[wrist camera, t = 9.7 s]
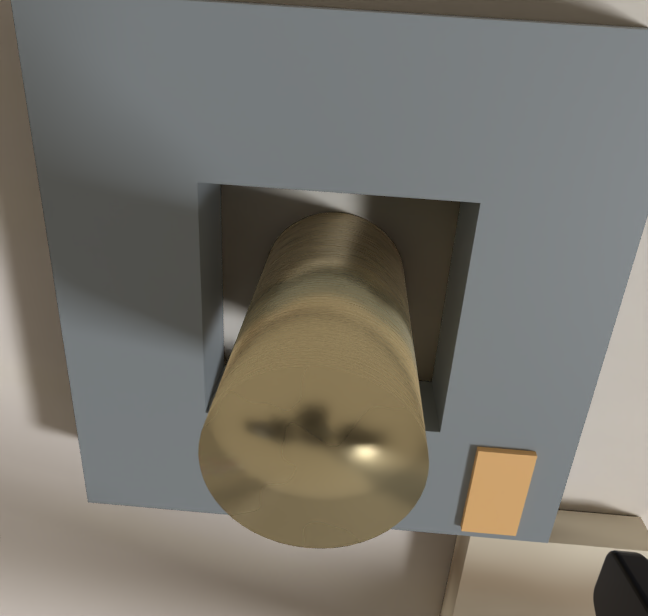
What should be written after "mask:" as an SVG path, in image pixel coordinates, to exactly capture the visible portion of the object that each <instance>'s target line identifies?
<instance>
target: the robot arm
mask: <svg viewBox="0 0 648 616" xmlns="http://www.w3.org/2000/svg"><path fill="white" fill-rule="evenodd" d="M593 603H594V609H595V614H596V616H648V559H647V558H646V557H644V556H643V555H642V554H640V553H637V552H630V551H618V550H613V551H610V552H609V553H608V554H607V555H606V557H605V560H604V563H603V565H602V568H601V571H600V574H599V576H598V579H597V582H596V584H595V587H594V592H593Z"/></svg>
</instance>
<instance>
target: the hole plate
mask: <svg viewBox="0 0 648 616" xmlns="http://www.w3.org/2000/svg"><path fill="white" fill-rule="evenodd" d="M11 5H12V12H13V18H14V25H15V31H16V38H17V44H18V50H19V57H20V63H21V70H22V76H23V83H24V89H25V96H26V102H27V109H28V115H29V122H30V128H31V135H32V141H33V148H34V154H35V161H36V167H37V174H38V180H39V187H40V193H41V200H42V206H43V213H44V219H45V226H46V232H47V239H48V245H49V252H50V258H51V265H52V271H53V278H54V284H55V291H56V297H57V304H58V310H59V317H60V323H61V330H62V336H63V343H64V349H65V356H66V362H67V369H68V375H69V382H70V388H71V395H72V401H73V408H74V414H75V421H76V427H77V434H78V440H79V447H80V453H81V460H82V466H83V472H84V479H85V485H86V492H87V498H88V502H91V503H102V504H114V505H125V506H136V507H147V508H159V509H170V510H181V511H192V512H204V513H215V514H226V515H229V514H227V513H226V512H225V511H224V510H223V509H222V508H221V506H220V505H219V504H218V503H217V502H216V501H215V499H214V498H213V496H212V495H211V493H210V491H209V490H208V488H207V486H206V484H205V481H204V479H203V476H202V473H201V470H200V465H199V457H198V448H199V439H200V435H201V431H202V428H203V425H204V423H205V420H206V418H207V415H208V412H209V410H210V407H211V405H212V402H213V399H214V397H215V394H216V392H217V389H218V386H219V384H220V381H221V379H222V376H223V373H224V371H225V368H226V366H227V365H224V331H223V280H222V229H221V184H226V185H240V186H253V187H267V188H281V189H295V190H309V191H322V192H336V193H350V194H364V195H378V196H391V197H405V198H419V199H433V200H446V201H460V202H461V203H460V209H459V215H458V222H457V228H456V234H455V240H454V246H453V253H452V259H451V265H450V271H449V278H448V284H447V290H446V296H445V303H444V309H443V315H442V321H441V327H440V334H439V340H438V346H437V352H436V359H435V365H434V371H433V377H432V382H426V381H419V387H420V395H421V402H422V409H423V417H424V424H425V431H426V439H427V446H428V455H429V471H428V477H427V481H426V485H425V488H424V490H423V492H422V495H421V497H420V499H419V500H418V502H417V503H416V505H415V506H414V508H413V509H412V510H411V511H410V512H409V514H408V515H407V516H406V517H405V518H404V519H402V520H401V521H400V522H399V523H398V524H397V525H395V526H394V527H392V528H391V529H395V530H406V531H417V532H428V533H440V534H451V535H462V536H473V537H485V538H496V539H507V540H518V541H530V542H541V543H548V542H549V538H550V535H551V532H552V529H553V525H554V522H555V519H556V515H557V512H558V509H559V506H560V502H561V499H562V496H563V492H564V489H565V486H566V483H567V479H568V476H569V473H570V469H571V466H572V463H573V460H574V456H575V453H576V450H577V446H578V443H579V440H580V436H581V433H582V430H583V427H584V423H585V420H586V417H587V413H588V410H589V407H590V404H591V400H592V397H593V394H594V390H595V387H596V384H597V381H598V377H599V374H600V371H601V367H602V364H603V361H604V358H605V354H606V351H607V348H608V344H609V341H610V338H611V335H612V331H613V328H614V325H615V321H616V318H617V315H618V311H619V308H620V305H621V302H622V298H623V295H624V292H625V288H626V285H627V282H628V279H629V275H630V272H631V269H632V265H633V262H634V259H635V256H636V252H637V249H638V246H639V242H640V239H641V236H642V233H643V229H644V226H645V223H646V219H647V216H648V28H641V27H626V26H610V25H594V24H578V23H563V22H547V21H531V20H515V19H499V18H484V17H468V16H452V15H436V14H421V13H405V12H389V11H373V10H357V9H342V8H326V7H310V6H294V5H279V4H263V3H247V2H231V1H215V0H11Z"/></svg>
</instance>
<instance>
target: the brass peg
mask: <svg viewBox="0 0 648 616" xmlns="http://www.w3.org/2000/svg"><path fill="white" fill-rule="evenodd" d="M198 457H199V465H200V470H201V473H202V476H203V479H204V481H205V484H206V486H207V488H208V490H209V491H210V493H211V495H212V496H213V498H214V499H215V501H216V502H217V503H218V504H219V505H220V506H221V508H222V509H223V510H224V511H225V512H226V513H227V514H229V515H230V516H231V517H232V518H233V519H234V520H236V521H237V522H238V523H240V524H241V525H242V526H244V527H246V528H247V529H249V530H251V531H253V532H254V533H256V534H259V535H261V536H263V537H265V538H268V539H271V540H273V541H276V542H279V543H283V544H288V545H292V546H298V547H305V548H336V547H343V546H349V545H353V544H357V543H361V542H364V541H367V540H369V539H372V538H375V537H377V536H379V535H380V534H382V533H384V532H386V531H388V530H389V529H391V528H392V527H394V526H395V525H397V524H398V523H399V522H400V521H401V520H402V519H404V518H405V517H406V516H407V515H408V514H409V512H410V511H411V510H412V509H413V508H414V506H415V505H416V503H417V502H418V500H419V499H420V497H421V495H422V492H423V490H424V488H425V485H426V481H427V477H428V471H429V455H428V446H427V439H426V431H425V424H424V417H423V409H422V402H421V395H420V387H419V380H418V373H417V365H416V358H415V351H414V343H413V336H412V329H411V321H410V314H409V307H408V299H407V292H406V285H405V277H404V270H403V265H402V261H401V257H400V255H399V252H398V250H397V248H396V247H395V245H394V243H393V242H392V241H391V239H390V238H389V237H388V236H387V235H386V234H385V233H384V232H383V231H382V230H381V229H380V228H379V227H377V226H376V225H375V224H373V223H371V222H369V221H368V220H366V219H363V218H361V217H358V216H355V215H351V214H347V213H340V212H327V213H319V214H315V215H311V216H309V217H306V218H304V219H301V220H300V221H298V222H296V223H294V224H293V225H291V226H290V227H289V228H287V229H286V230H285V231H284V232H283V233H282V234H281V235H280V237H279V238H278V239H277V240H276V242H275V244H274V245H273V247H272V249H271V251H270V254H269V256H268V259H267V261H266V264H265V267H264V269H263V272H262V274H261V277H260V280H259V282H258V285H257V287H256V290H255V293H254V295H253V298H252V300H251V303H250V306H249V308H248V311H247V313H246V316H245V319H244V321H243V324H242V327H241V329H240V332H239V334H238V337H237V340H236V342H235V345H234V347H233V350H232V353H231V355H230V358H229V360H228V363H227V366H226V368H225V371H224V373H223V376H222V379H221V381H220V384H219V386H218V389H217V392H216V394H215V397H214V399H213V402H212V405H211V407H210V410H209V412H208V415H207V418H206V420H205V423H204V425H203V428H202V431H201V435H200V439H199V448H198Z"/></svg>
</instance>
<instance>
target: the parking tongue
mask: <svg viewBox="0 0 648 616" xmlns="http://www.w3.org/2000/svg"><path fill="white" fill-rule="evenodd" d="M613 550H618V551H630V552H637V553H640V554H642V555H643V556H644V557H646V558H647V559H648V530H647V528H646V526H645V525H644V523H643V521H642V519H641V517H633V516H621V515H610V514H599V513H587V512H576V511H564V510H558V512H557V515H556V519H555V522H554V525H553V529H552V532H551V535H550V538H549V542H548V543H541V542H530V541H518V540H507V539H496V538H485V537H473V536H462V535H457V538H456V543H455V548H454V552H453V557H452V562H451V567H450V571H449V576H448V581H447V586H446V590H445V595H444V600H443V605H442V609H441V614H440V616H596V614H595V609H594V603H593V592H594V587H595V584H596V582H597V579H598V576H599V574H600V571H601V568H602V565H603V563H604V560H605V557H606V555H607V554H608V553H609V552H610V551H613Z"/></svg>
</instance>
